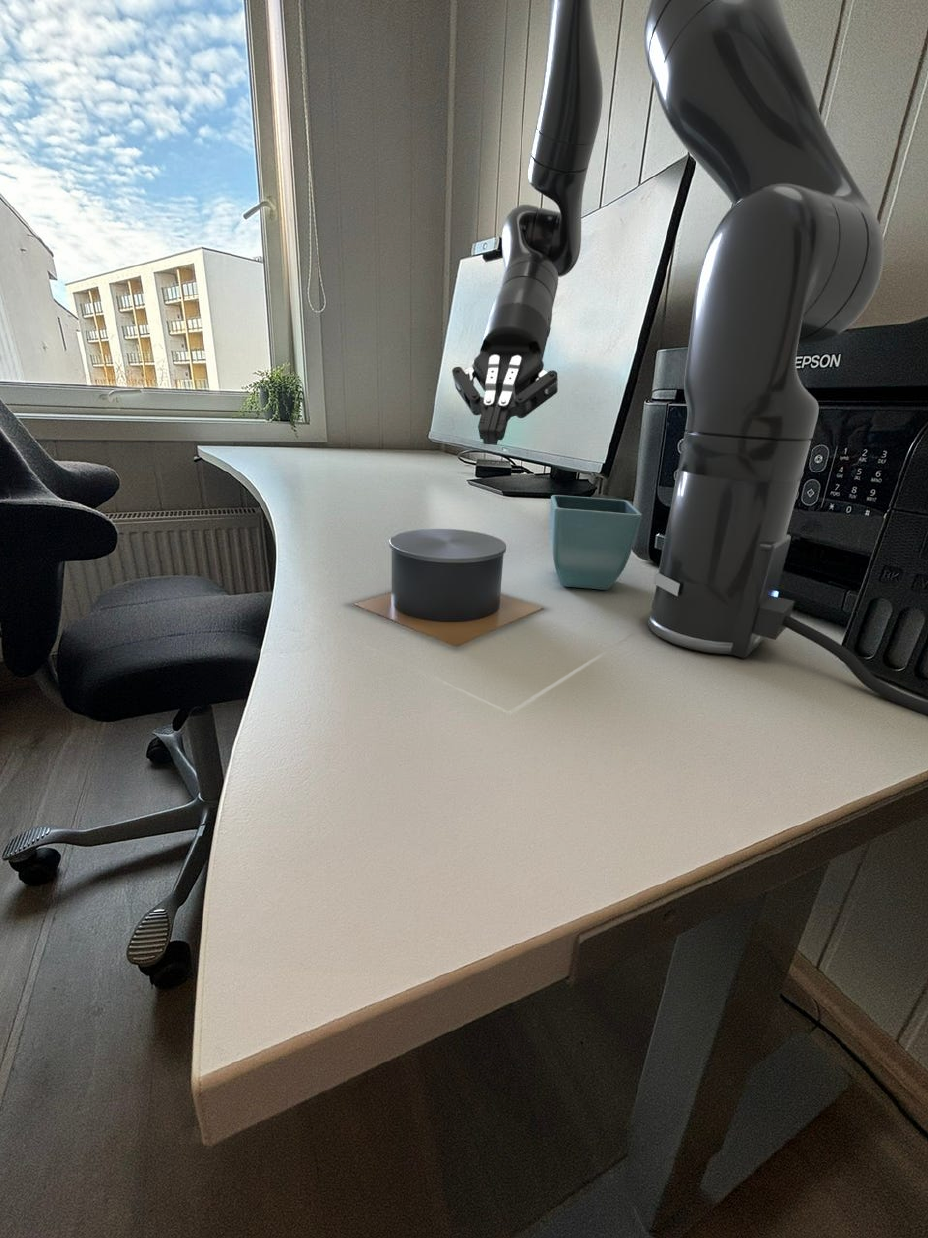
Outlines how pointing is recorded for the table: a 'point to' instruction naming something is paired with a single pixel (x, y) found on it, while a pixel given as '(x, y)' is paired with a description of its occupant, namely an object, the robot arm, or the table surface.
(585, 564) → the flower pot
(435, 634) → the desk mat
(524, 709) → the table surface
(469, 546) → the round metal tin
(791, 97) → the robot arm
